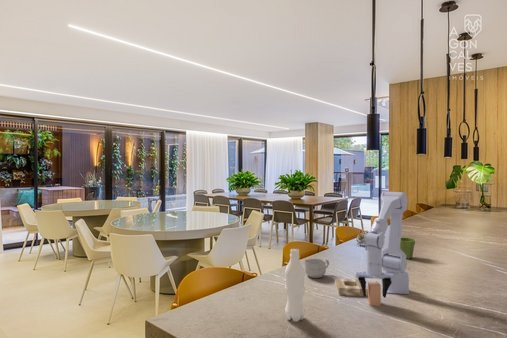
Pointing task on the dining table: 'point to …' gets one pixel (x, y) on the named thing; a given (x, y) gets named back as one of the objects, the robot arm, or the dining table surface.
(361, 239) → the passion flower
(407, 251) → the plant pot
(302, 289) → the water bottle
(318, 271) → the teacup
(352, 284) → the birch socket block
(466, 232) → the dining table surface
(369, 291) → the terracotta peg
